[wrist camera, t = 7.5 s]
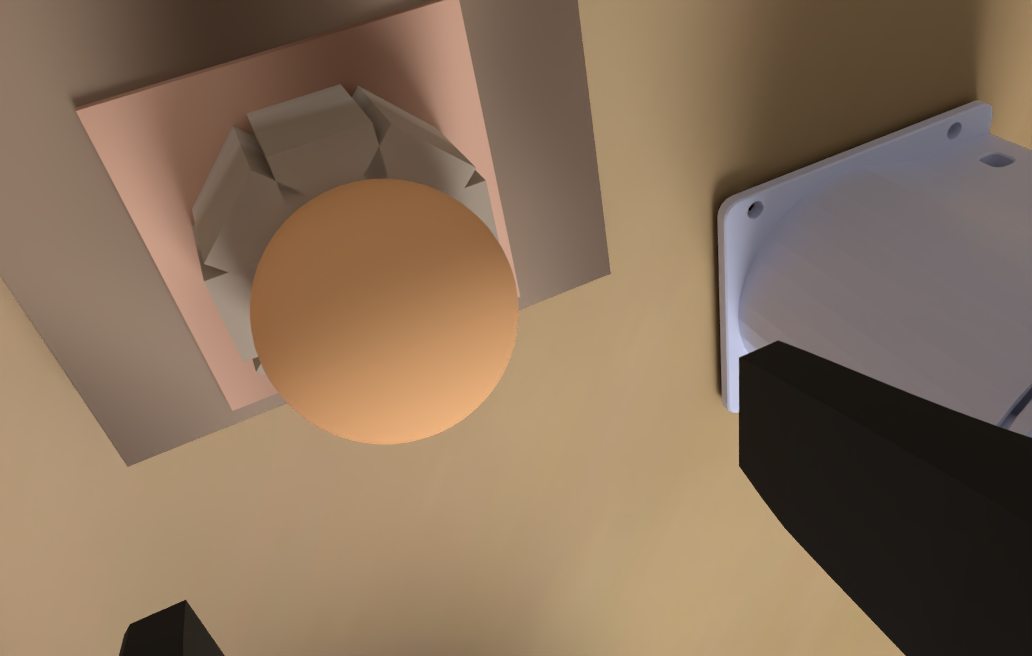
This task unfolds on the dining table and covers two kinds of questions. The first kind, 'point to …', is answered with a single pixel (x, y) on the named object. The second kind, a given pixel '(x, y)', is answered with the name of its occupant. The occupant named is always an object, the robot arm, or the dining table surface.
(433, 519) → the dining table surface
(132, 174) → the rack
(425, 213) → the ball
